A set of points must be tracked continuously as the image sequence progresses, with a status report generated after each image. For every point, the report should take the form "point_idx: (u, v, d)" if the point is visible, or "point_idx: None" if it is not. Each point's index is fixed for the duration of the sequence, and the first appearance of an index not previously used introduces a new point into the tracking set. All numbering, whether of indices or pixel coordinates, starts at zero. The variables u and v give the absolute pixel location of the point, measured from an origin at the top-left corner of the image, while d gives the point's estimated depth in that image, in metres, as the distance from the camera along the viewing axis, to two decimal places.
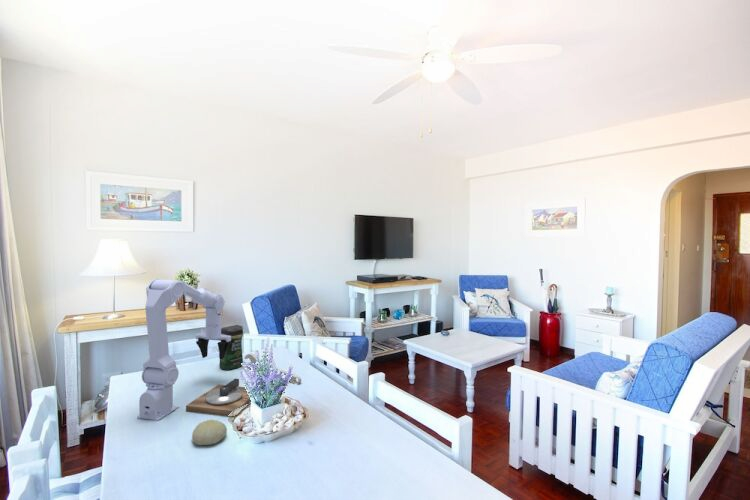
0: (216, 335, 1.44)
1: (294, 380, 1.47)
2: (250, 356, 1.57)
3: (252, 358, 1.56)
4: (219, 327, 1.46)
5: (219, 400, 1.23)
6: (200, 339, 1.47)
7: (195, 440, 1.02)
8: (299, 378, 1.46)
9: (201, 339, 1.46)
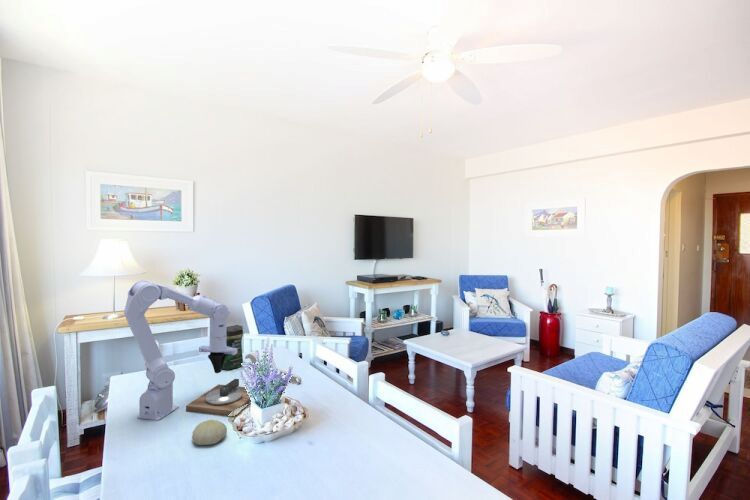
0: (221, 348, 1.33)
1: (294, 380, 1.47)
2: (251, 356, 1.57)
3: (252, 358, 1.56)
4: (224, 339, 1.34)
5: (219, 400, 1.23)
6: None
7: (195, 440, 1.02)
8: (299, 378, 1.46)
9: None
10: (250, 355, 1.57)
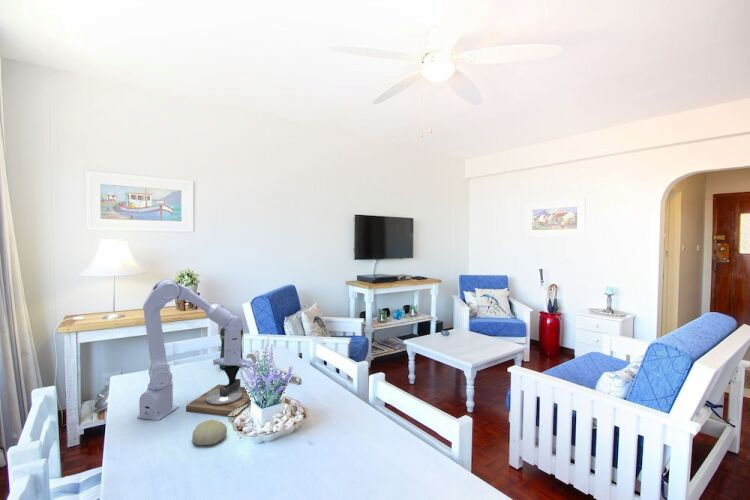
0: (236, 361, 1.32)
1: (294, 380, 1.47)
2: (252, 355, 1.57)
3: (254, 358, 1.57)
4: (239, 352, 1.33)
5: (218, 400, 1.23)
6: None
7: (195, 440, 1.02)
8: (299, 378, 1.46)
9: None
10: (251, 355, 1.57)
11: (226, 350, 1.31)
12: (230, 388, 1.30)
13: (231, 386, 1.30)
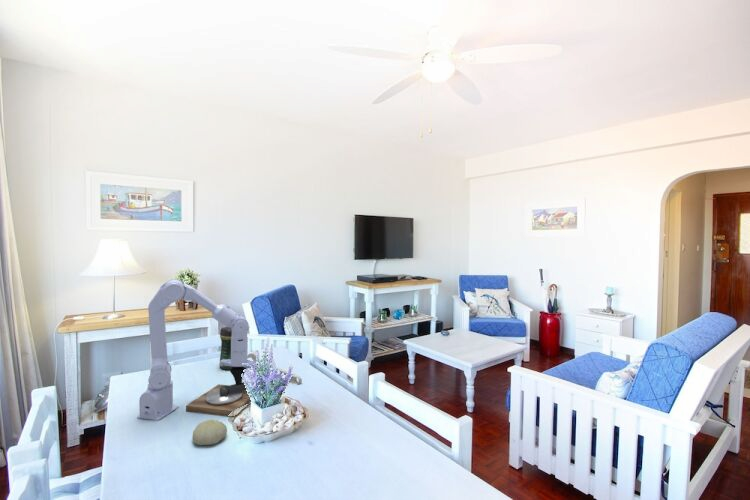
0: (242, 362, 1.31)
1: (295, 380, 1.47)
2: (252, 355, 1.58)
3: (254, 357, 1.57)
4: (246, 353, 1.32)
5: (211, 399, 1.24)
6: None
7: (195, 440, 1.02)
8: (299, 378, 1.46)
9: None
10: (252, 354, 1.58)
11: (233, 351, 1.30)
12: (231, 389, 1.29)
13: (233, 388, 1.29)
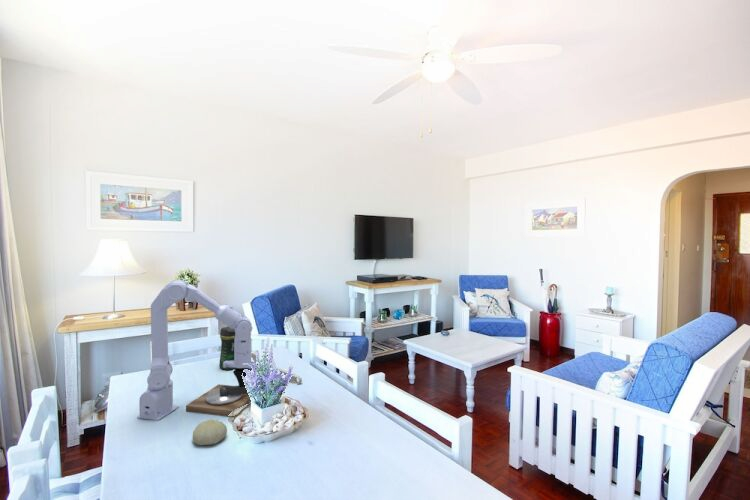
0: None
1: (295, 380, 1.47)
2: (253, 355, 1.58)
3: (255, 357, 1.57)
4: (249, 354, 1.31)
5: (209, 397, 1.26)
6: None
7: (195, 440, 1.02)
8: (299, 378, 1.46)
9: None
10: (252, 354, 1.58)
11: (236, 353, 1.29)
12: (230, 391, 1.28)
13: (232, 389, 1.28)
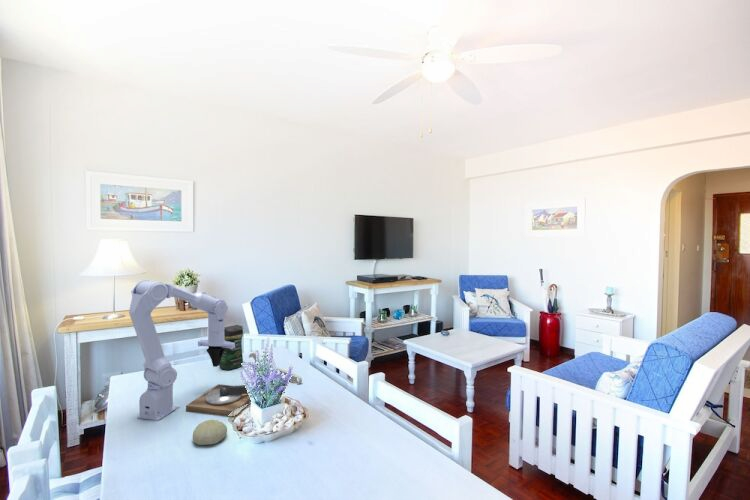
0: (219, 342, 1.36)
1: (295, 380, 1.47)
2: (254, 355, 1.58)
3: None
4: (222, 333, 1.38)
5: (209, 397, 1.26)
6: None
7: (195, 440, 1.02)
8: (300, 378, 1.46)
9: None
10: (253, 354, 1.58)
11: (210, 331, 1.36)
12: (230, 391, 1.28)
13: (232, 389, 1.28)
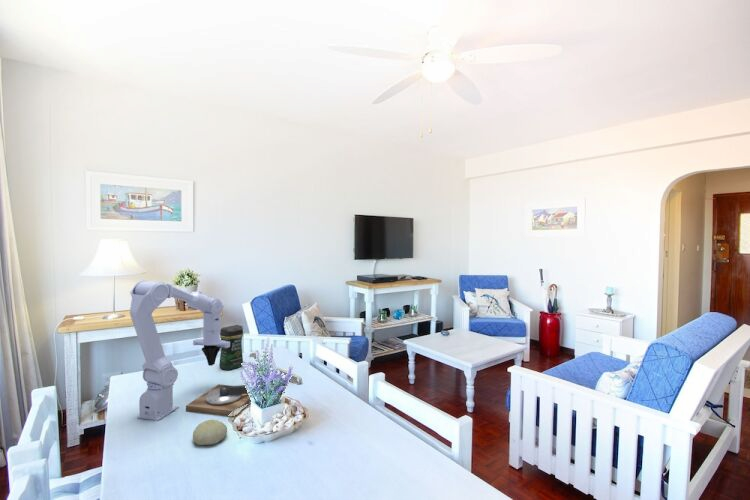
0: (214, 341, 1.38)
1: (295, 380, 1.47)
2: (254, 354, 1.58)
3: None
4: (217, 333, 1.39)
5: (209, 397, 1.26)
6: None
7: (195, 440, 1.02)
8: (300, 378, 1.46)
9: None
10: (254, 354, 1.59)
11: (205, 331, 1.37)
12: (230, 391, 1.28)
13: (232, 389, 1.28)
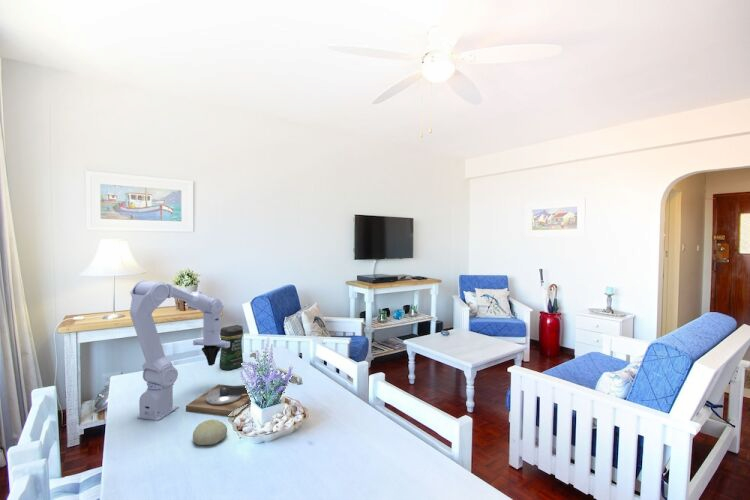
0: (214, 341, 1.38)
1: (295, 380, 1.47)
2: (255, 354, 1.59)
3: None
4: (217, 333, 1.39)
5: (209, 397, 1.26)
6: None
7: (196, 440, 1.02)
8: (300, 378, 1.46)
9: None
10: (254, 354, 1.59)
11: (205, 331, 1.37)
12: (230, 391, 1.28)
13: (232, 389, 1.28)
